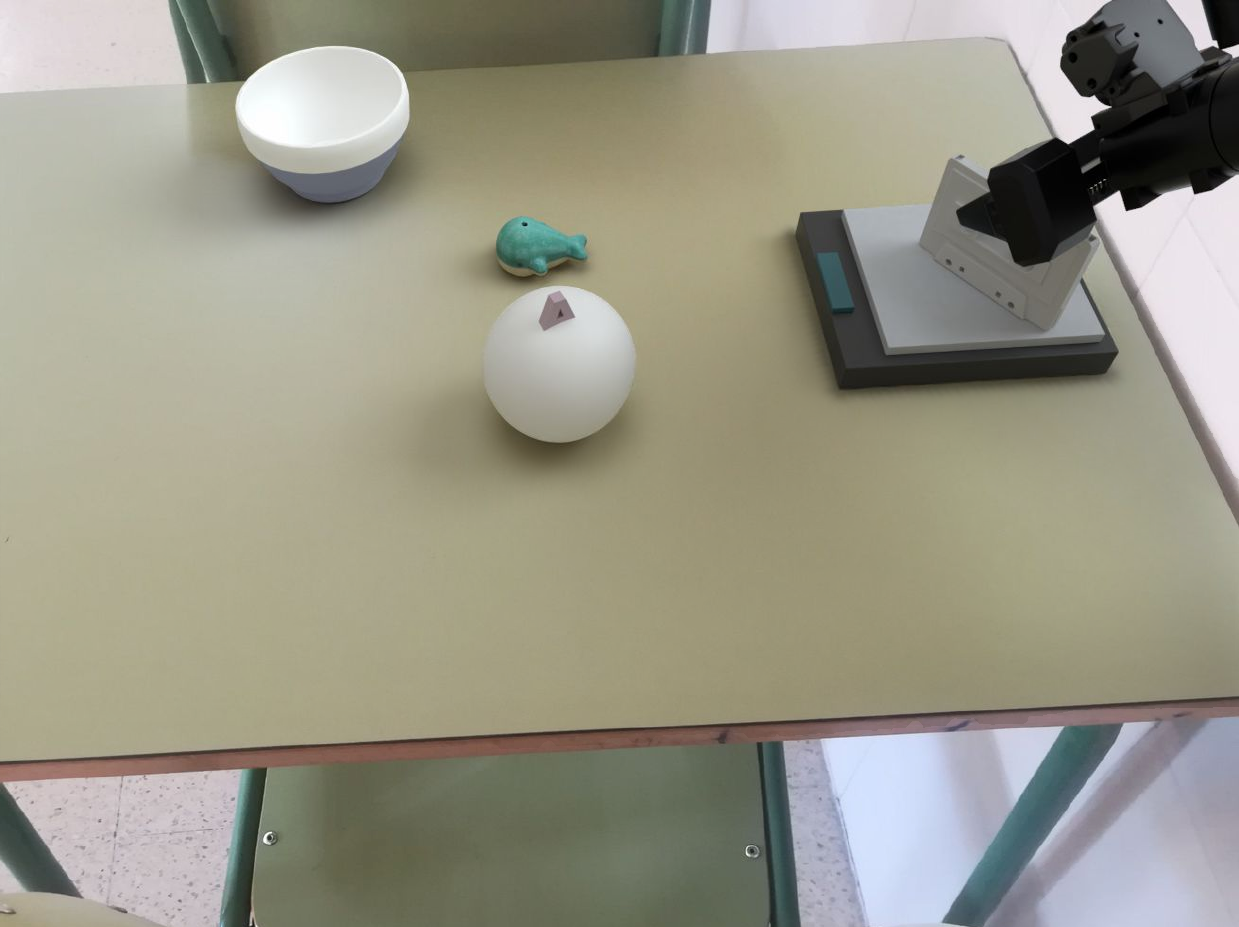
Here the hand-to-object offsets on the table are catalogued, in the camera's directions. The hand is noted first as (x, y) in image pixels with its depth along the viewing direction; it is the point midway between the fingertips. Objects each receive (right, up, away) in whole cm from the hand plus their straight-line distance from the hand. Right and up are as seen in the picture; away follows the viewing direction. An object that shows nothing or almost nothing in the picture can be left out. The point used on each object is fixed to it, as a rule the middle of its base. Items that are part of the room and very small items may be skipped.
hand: (1006, 188), depth 71 cm
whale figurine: (-31, -1, +14) cm, 34 cm away
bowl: (-48, +9, +22) cm, 54 cm away
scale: (+1, -5, +9) cm, 11 cm away
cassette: (+1, -5, +6) cm, 8 cm away
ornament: (-30, -15, +5) cm, 34 cm away
